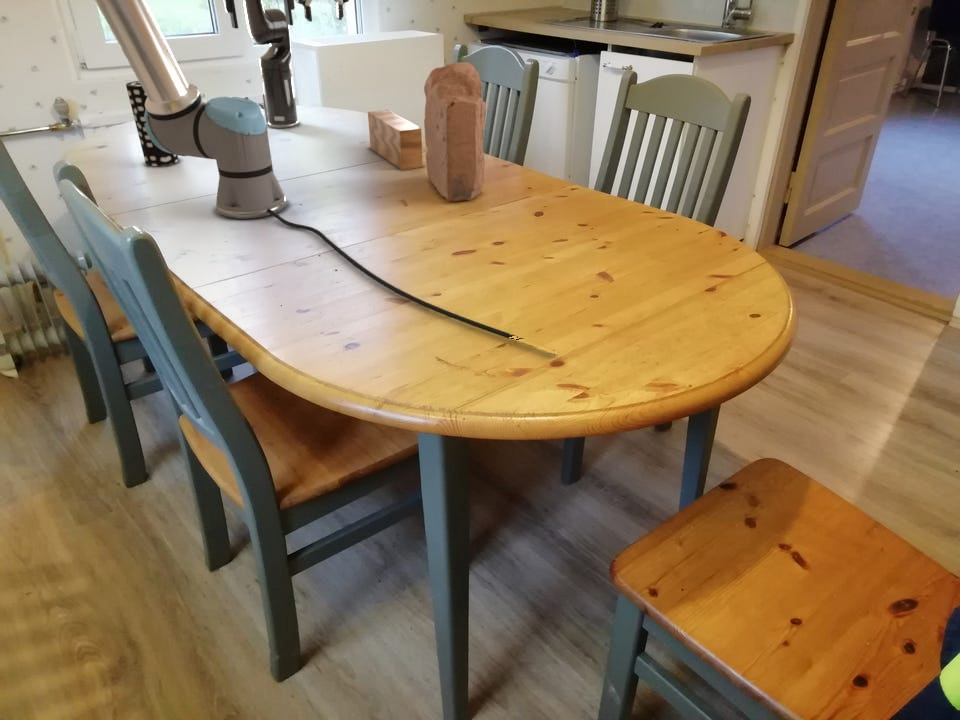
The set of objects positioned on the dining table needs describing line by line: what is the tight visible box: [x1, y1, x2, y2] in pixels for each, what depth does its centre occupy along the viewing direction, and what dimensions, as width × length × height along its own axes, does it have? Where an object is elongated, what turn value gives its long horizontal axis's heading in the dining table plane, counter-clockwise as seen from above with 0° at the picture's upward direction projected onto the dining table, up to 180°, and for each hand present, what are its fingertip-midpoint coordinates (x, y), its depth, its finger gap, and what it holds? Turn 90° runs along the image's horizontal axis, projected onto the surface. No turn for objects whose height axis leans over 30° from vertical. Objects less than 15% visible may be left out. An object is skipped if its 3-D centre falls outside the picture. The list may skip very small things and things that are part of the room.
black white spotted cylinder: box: [125, 80, 179, 167], centre depth 181 cm, size 8×8×20 cm
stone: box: [423, 61, 487, 202], centre depth 163 cm, size 22×11×28 cm, turn 18°
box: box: [367, 109, 424, 171], centre depth 190 cm, size 23×6×10 cm, turn 29°
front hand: (263, 26), depth 170 cm, fingers open, 13 cm apart
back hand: (324, 20), depth 191 cm, fingers open, 8 cm apart
